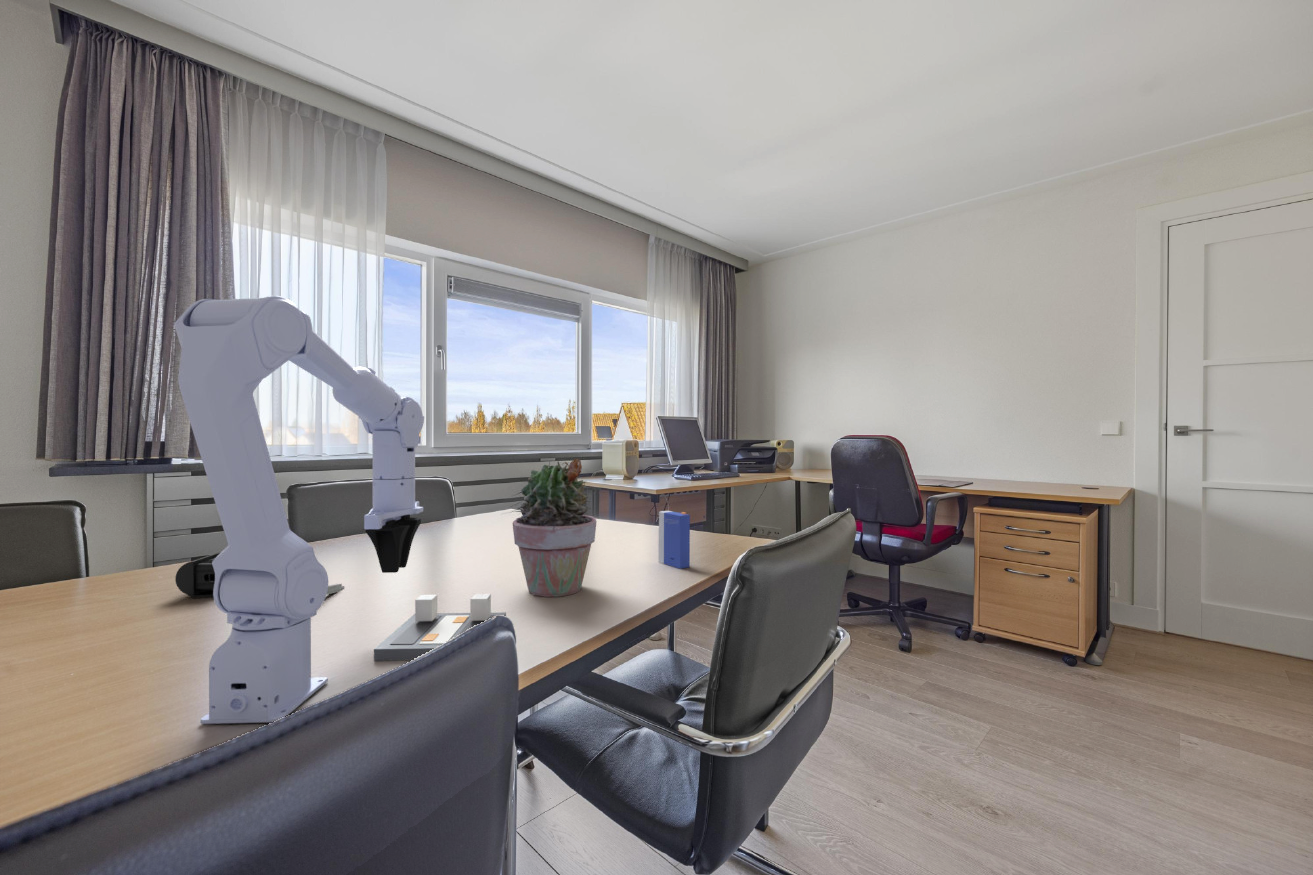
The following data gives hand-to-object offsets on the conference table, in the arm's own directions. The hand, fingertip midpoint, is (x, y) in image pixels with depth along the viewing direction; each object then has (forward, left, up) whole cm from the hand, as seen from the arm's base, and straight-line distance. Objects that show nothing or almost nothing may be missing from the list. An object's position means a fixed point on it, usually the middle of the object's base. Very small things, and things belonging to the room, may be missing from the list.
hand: (394, 569), depth 82 cm
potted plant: (+22, -20, -10) cm, 31 cm away
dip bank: (-3, -9, -9) cm, 13 cm away
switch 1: (+1, -4, -7) cm, 9 cm away
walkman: (+40, -45, -10) cm, 61 cm away
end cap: (+23, +42, -10) cm, 49 cm away
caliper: (+14, +19, -10) cm, 26 cm away
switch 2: (+1, -12, -7) cm, 15 cm away
